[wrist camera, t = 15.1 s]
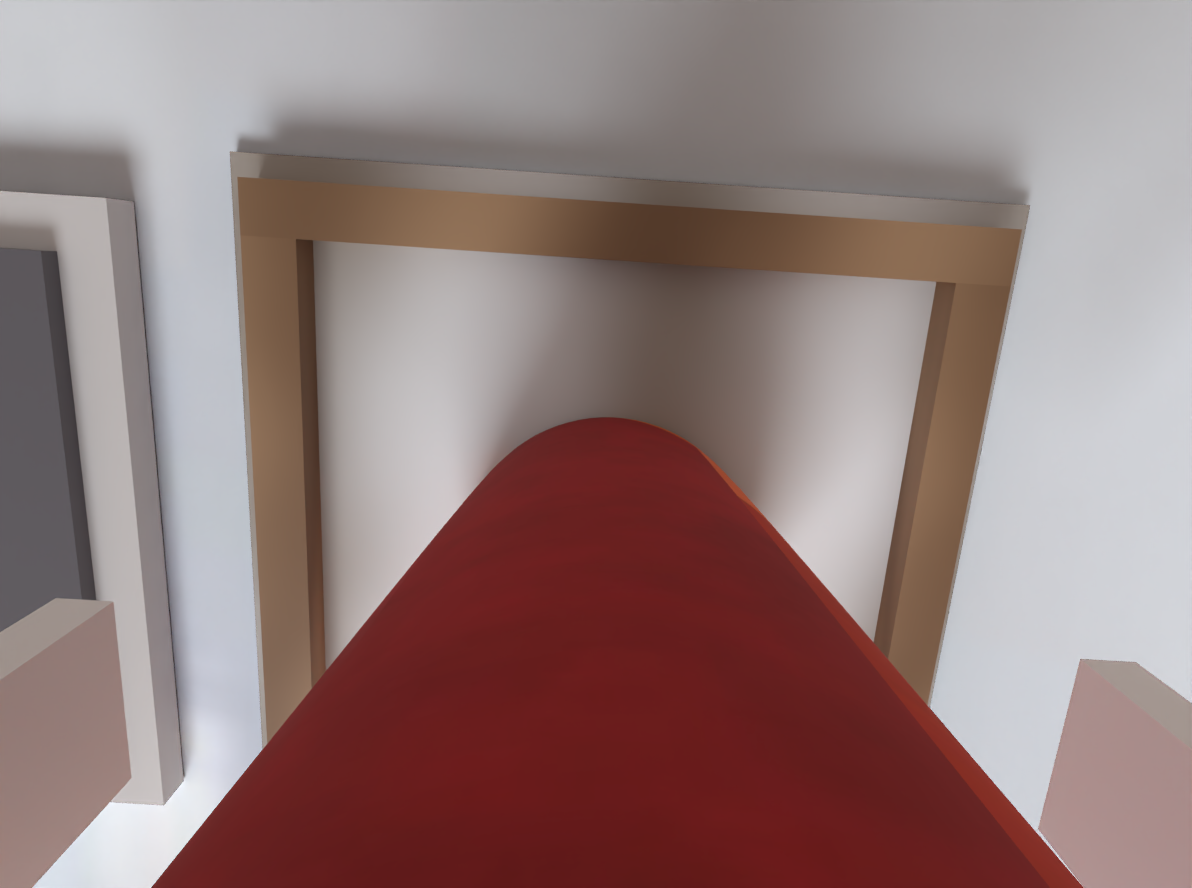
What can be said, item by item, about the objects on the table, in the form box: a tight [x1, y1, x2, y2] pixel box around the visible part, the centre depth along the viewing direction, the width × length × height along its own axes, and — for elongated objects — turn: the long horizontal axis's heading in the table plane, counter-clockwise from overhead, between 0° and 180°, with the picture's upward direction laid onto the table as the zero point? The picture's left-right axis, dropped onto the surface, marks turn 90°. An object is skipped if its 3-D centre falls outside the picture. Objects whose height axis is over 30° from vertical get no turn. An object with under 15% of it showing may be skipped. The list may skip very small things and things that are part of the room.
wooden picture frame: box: [230, 152, 1030, 749], centre depth 15 cm, size 15×15×1 cm
